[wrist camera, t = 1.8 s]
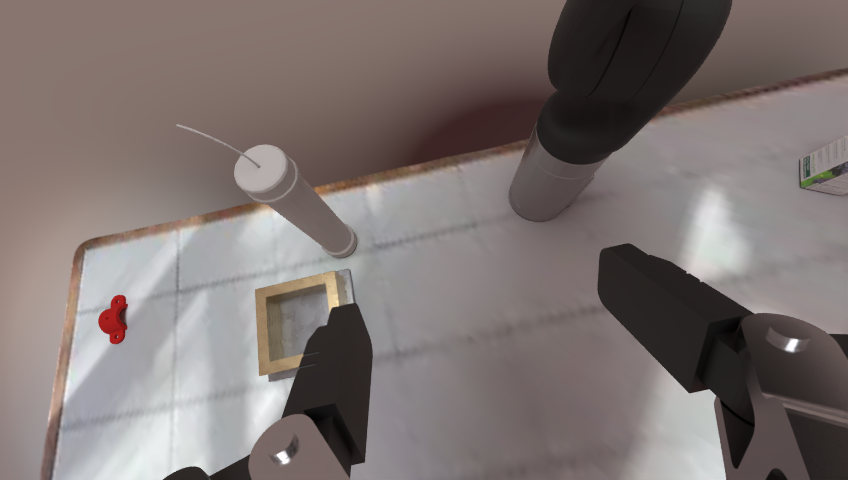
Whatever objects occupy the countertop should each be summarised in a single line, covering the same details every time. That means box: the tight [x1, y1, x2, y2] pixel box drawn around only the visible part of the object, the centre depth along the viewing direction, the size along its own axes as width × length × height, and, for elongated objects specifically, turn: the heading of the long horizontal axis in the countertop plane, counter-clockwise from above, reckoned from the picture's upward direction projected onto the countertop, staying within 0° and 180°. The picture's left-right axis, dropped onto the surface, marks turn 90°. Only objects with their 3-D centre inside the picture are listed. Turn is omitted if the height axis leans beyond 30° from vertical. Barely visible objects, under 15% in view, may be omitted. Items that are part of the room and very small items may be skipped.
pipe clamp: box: [98, 295, 128, 344], centre depth 50 cm, size 8×3×2 cm, turn 16°
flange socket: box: [255, 269, 355, 382], centre depth 46 cm, size 14×14×5 cm
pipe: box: [176, 124, 357, 258], centre depth 38 cm, size 6×6×30 cm
